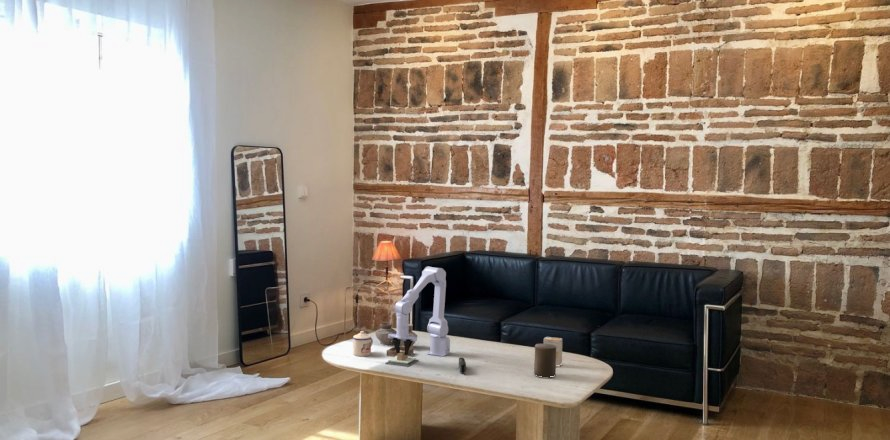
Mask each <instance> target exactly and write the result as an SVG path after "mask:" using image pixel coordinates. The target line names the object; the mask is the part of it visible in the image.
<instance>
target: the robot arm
mask: <svg viewBox="0 0 890 440" xmlns="http://www.w3.org/2000/svg"><path fill="white" fill-rule="evenodd" d="M446 277H447V272H446V270H445V269H444V268H442V267H432V266H428V265H427V266H425V267H424V269H423V270H422V271H421V276H420V278H419V279H418V281H417V282H416V284H415V285H414V287H413V288H411V289H408V290H407V291H406V293H405V295H404V296H403V297H402V298H401V300H399V301H397V302H396V303H395V304H394V307H393V310H394V313H395V316H396V331H397V334H388V338H393V340H392V341H391V343H392V345H393V347H394V346H395V349H396V353H397V354H398V353H400V346H401V343H400V342H401V339H402V340H406V341H404V345H405V355H408V352H409V348H410V346H411V344H412V342H413V341H416V342H417V341H418V336H417V337H416V336H411V335H408V333H409V324H410V321H409V320H410V319H409V317H410V316H409V314H410V313H411V311H412V309H413V305H414V304H415V303H416V301H417V300H418V298H419V297H420V296H419V294H420V293H421V292H422V290H423V289H424V288H425V287H426V286H427V284H429V283H432V284H433V285H434V294H433V296H434V297H433V308H432V309H433V310H432V317H430V318H429V319H428V320H429V321H428V324H427V327H426V330H427V332H428V334H429V336H430V340H429V341H430V343H429V344H430V346H429V347H430V349H429V350H430V351H429V352H427V355H431V356H441V357H446V356H447V355H449V354H450V353H451V338H450V337H448V336H447V335H448V333H449V325H448V321H447V319H446V318H445V306H446V305H445V303H446V290H447V289H446V288H447V280H446Z"/></svg>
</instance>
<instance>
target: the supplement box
mask: <svg viewBox="0 0 890 440" xmlns="http://www.w3.org/2000/svg"><path fill="white" fill-rule="evenodd" d="M545 343H546V344H553V345H555V346H556V365H560V364H561V363H562V364H563V338H562V337H552V336H546V337H544V338H543V344H545Z"/></svg>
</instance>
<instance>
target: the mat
mask: <svg viewBox="0 0 890 440" xmlns="http://www.w3.org/2000/svg"><path fill="white" fill-rule="evenodd" d="M419 360H420V359H417V358H416V359H415V360H413V361H411V362H410V363H408V364H400V363H392V362H391V361H387V362H385V365H391V366H392V365H393V366H397V367H398V366H399V367H407V368H408V367H410V366H412V365H414V364H415V363H418V362H419Z"/></svg>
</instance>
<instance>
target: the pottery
mask: <svg viewBox="0 0 890 440" xmlns="http://www.w3.org/2000/svg"><path fill="white" fill-rule="evenodd" d="M392 326H393V324H392V323H391V322H387V321H386V322H385V321H384V322H381V323H379V327H380V328H378V329H377V330H375V332H374V333H375V337H376V338H377V339H378V341H379V342H380V343H379V344H380V345H383V346H384V345H385V346H386V345H387V346H388V345H392V340H393V338H388V334H397V329H395V328H393V327H392ZM413 326H414V325H413V324H411V323H409V333H408V335H411V336H416V337H417V338H418V334H417V333H415V331H414V332H413ZM404 341H406V340H402V339H401V342H400V345H402V346H401V347H405V345H404ZM416 342H417V341H413V342H412V344H411V346H410V348H413V349H414V345H415V344H416Z"/></svg>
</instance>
